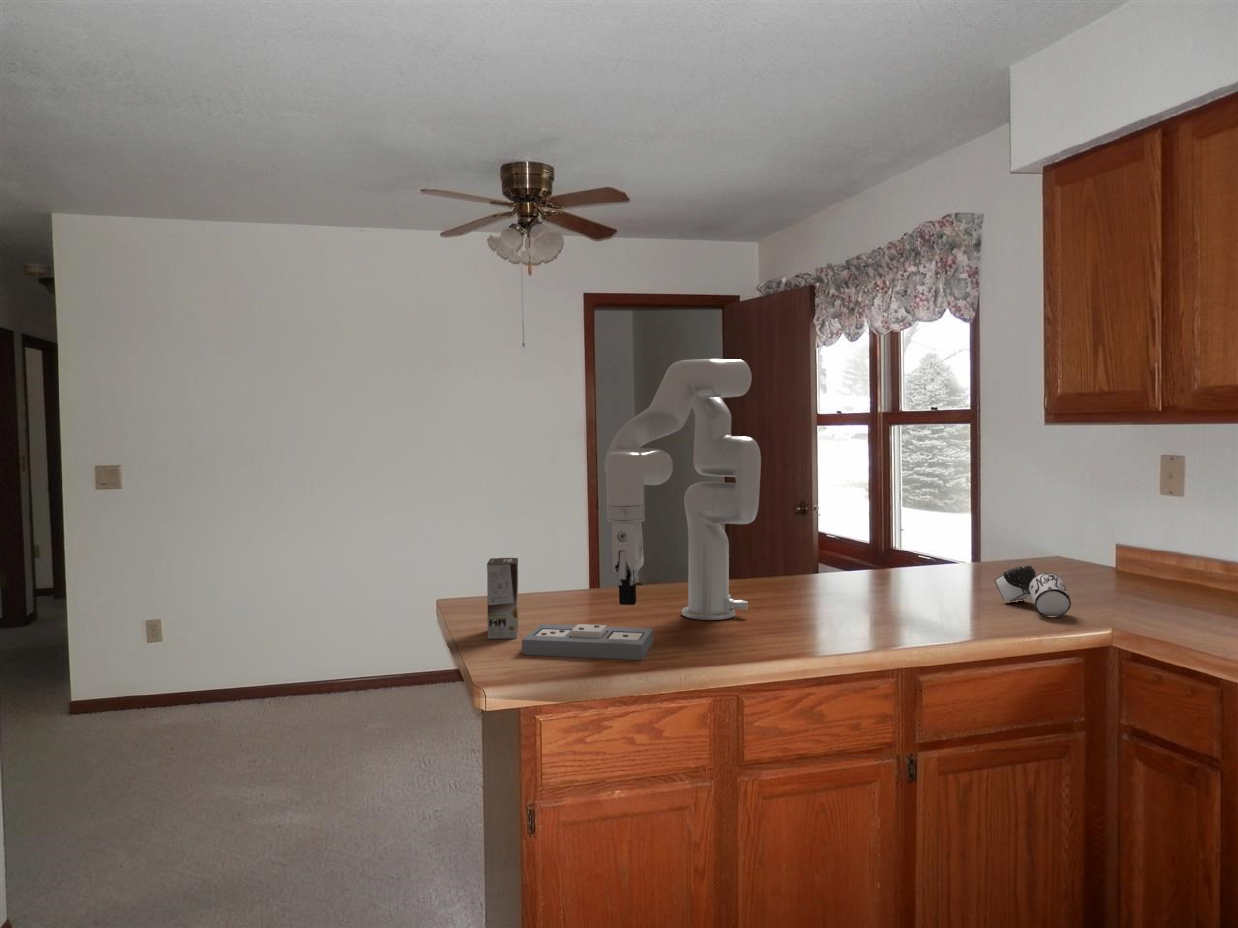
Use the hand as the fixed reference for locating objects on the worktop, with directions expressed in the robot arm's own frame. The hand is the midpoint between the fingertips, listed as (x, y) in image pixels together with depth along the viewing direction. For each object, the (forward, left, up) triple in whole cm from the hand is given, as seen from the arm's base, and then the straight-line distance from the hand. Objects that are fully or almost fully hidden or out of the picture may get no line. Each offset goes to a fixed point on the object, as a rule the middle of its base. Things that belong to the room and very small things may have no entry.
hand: (627, 603), depth 181 cm
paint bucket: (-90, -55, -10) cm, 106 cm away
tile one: (0, +1, -8) cm, 8 cm away
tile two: (+8, +1, -7) cm, 11 cm away
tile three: (+15, +1, -8) cm, 18 cm away
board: (+8, +1, -9) cm, 12 cm away
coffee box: (+29, -8, -10) cm, 31 cm away
